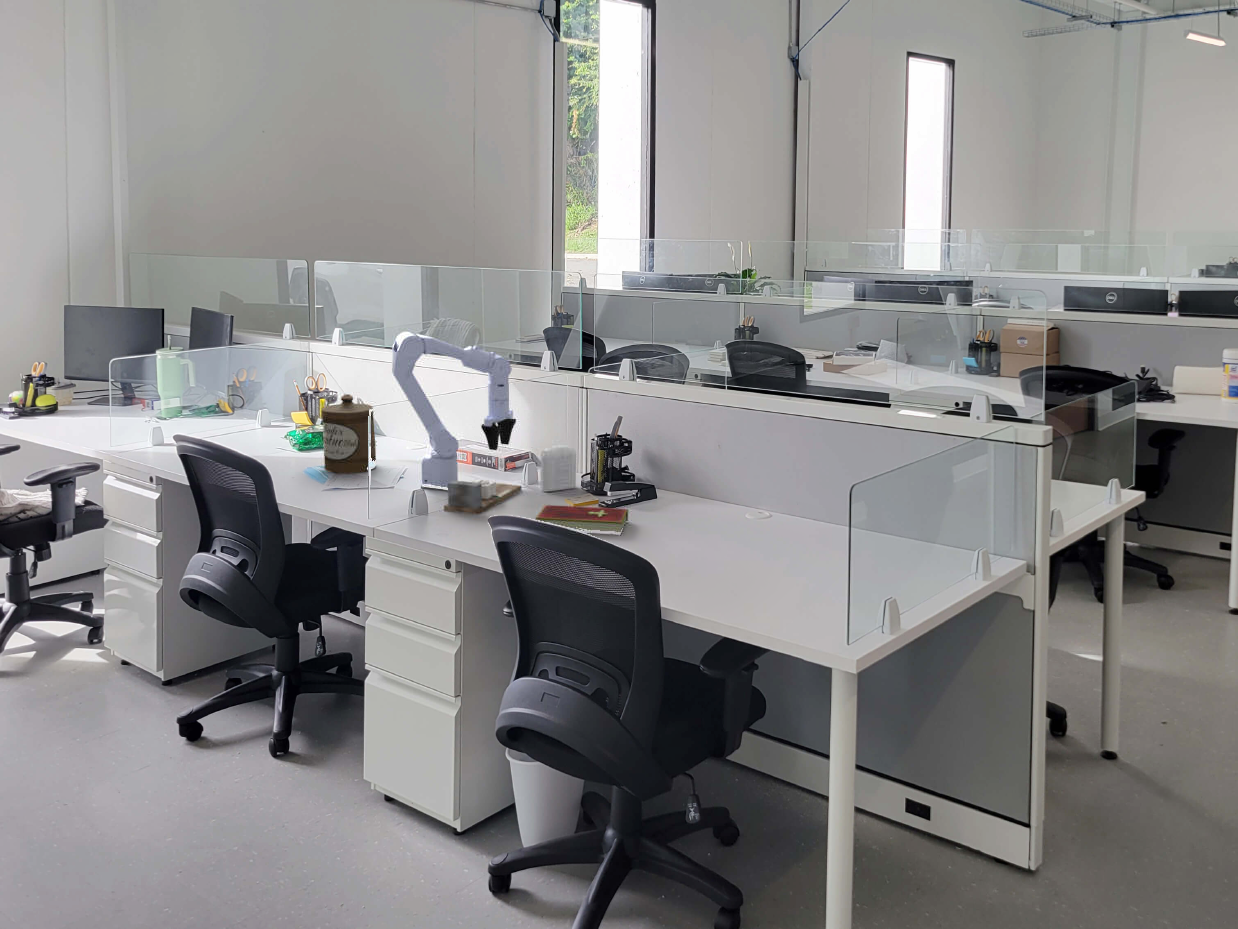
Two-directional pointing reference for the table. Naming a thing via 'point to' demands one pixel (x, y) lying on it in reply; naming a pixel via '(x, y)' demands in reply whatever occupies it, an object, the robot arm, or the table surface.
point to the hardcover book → (585, 517)
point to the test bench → (484, 501)
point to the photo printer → (558, 468)
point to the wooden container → (347, 436)
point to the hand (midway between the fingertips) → (499, 446)
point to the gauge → (487, 488)
